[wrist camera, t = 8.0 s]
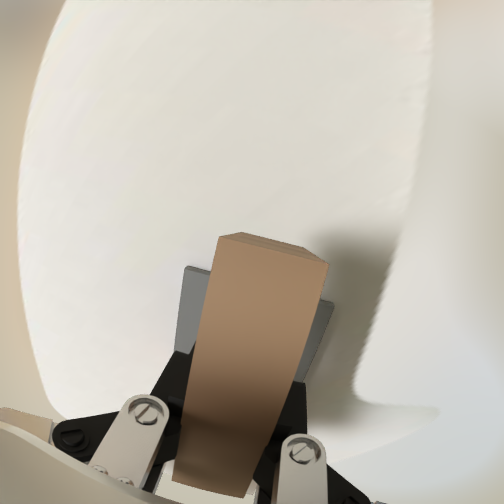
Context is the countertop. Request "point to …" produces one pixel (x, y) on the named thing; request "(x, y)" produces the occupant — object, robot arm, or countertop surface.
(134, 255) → the countertop surface
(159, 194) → the countertop surface
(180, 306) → the mat
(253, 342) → the tan tapered bar
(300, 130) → the countertop surface
